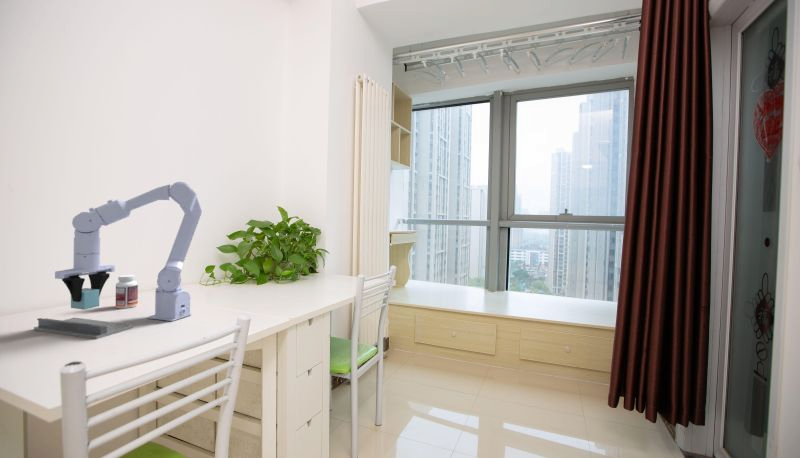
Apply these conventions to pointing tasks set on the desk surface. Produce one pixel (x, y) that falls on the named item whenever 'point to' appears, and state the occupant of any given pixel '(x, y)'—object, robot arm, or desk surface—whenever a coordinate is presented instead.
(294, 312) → the desk surface
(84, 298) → the block
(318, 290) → the desk surface
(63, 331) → the rail board
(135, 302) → the pill bottle
